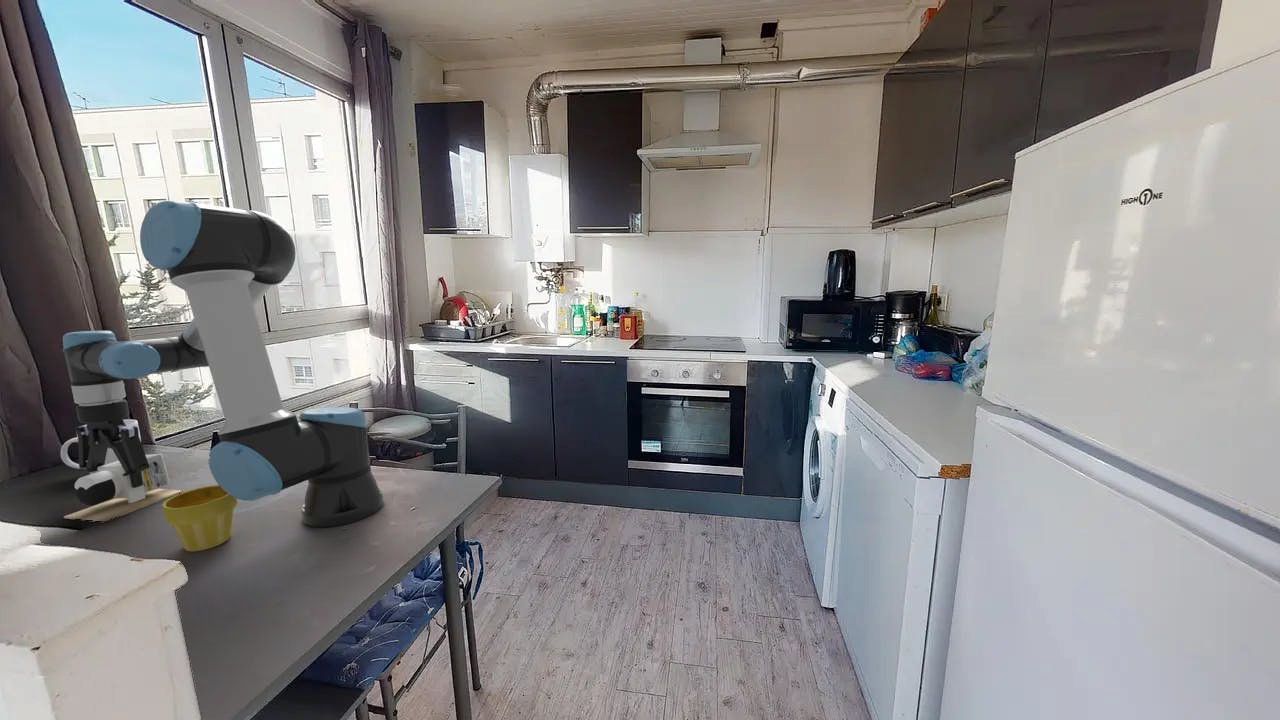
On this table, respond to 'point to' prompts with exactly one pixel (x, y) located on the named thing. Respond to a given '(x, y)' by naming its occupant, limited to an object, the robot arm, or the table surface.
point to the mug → (110, 453)
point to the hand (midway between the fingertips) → (120, 498)
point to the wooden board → (121, 506)
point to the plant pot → (201, 517)
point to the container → (119, 481)
